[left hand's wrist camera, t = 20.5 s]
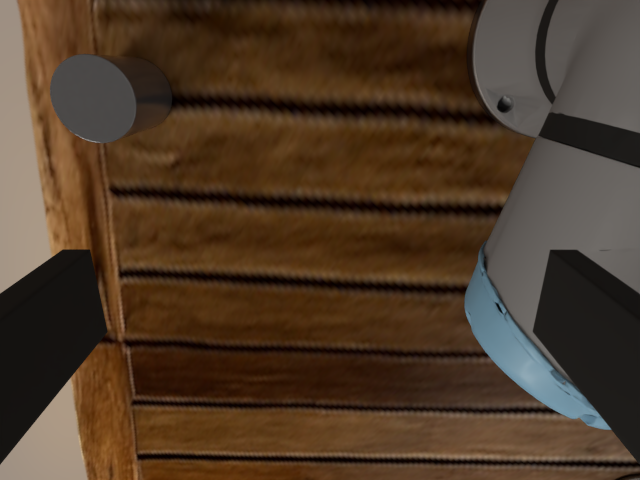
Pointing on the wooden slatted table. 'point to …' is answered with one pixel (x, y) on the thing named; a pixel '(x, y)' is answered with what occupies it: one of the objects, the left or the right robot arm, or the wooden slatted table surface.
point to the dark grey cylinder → (109, 96)
